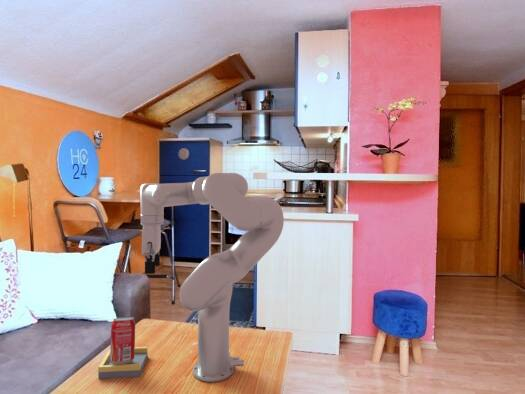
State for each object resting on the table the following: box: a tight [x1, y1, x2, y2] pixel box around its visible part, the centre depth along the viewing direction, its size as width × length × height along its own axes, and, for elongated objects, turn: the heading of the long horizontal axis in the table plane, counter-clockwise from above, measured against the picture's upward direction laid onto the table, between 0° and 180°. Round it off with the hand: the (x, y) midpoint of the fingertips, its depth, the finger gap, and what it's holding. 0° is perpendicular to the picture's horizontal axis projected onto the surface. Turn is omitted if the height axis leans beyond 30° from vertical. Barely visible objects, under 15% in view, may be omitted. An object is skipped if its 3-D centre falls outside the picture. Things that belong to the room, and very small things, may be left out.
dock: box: [97, 346, 149, 380], centre depth 118 cm, size 12×12×4 cm
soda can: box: [109, 316, 136, 365], centre depth 117 cm, size 7×7×13 cm
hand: (152, 269), depth 128 cm, fingers open, 9 cm apart
